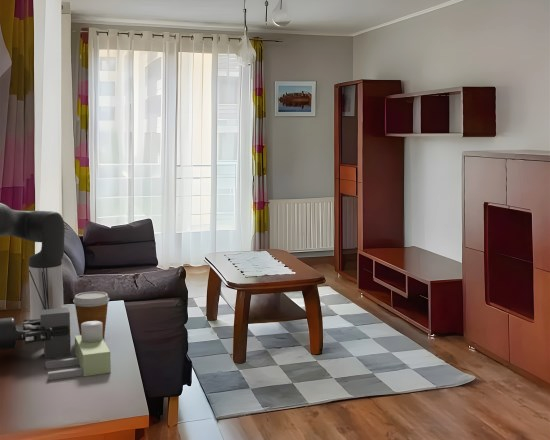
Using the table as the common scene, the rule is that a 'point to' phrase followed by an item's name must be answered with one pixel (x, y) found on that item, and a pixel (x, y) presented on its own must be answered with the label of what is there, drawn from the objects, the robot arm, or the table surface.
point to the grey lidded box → (57, 343)
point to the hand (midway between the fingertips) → (67, 327)
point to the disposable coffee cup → (91, 308)
